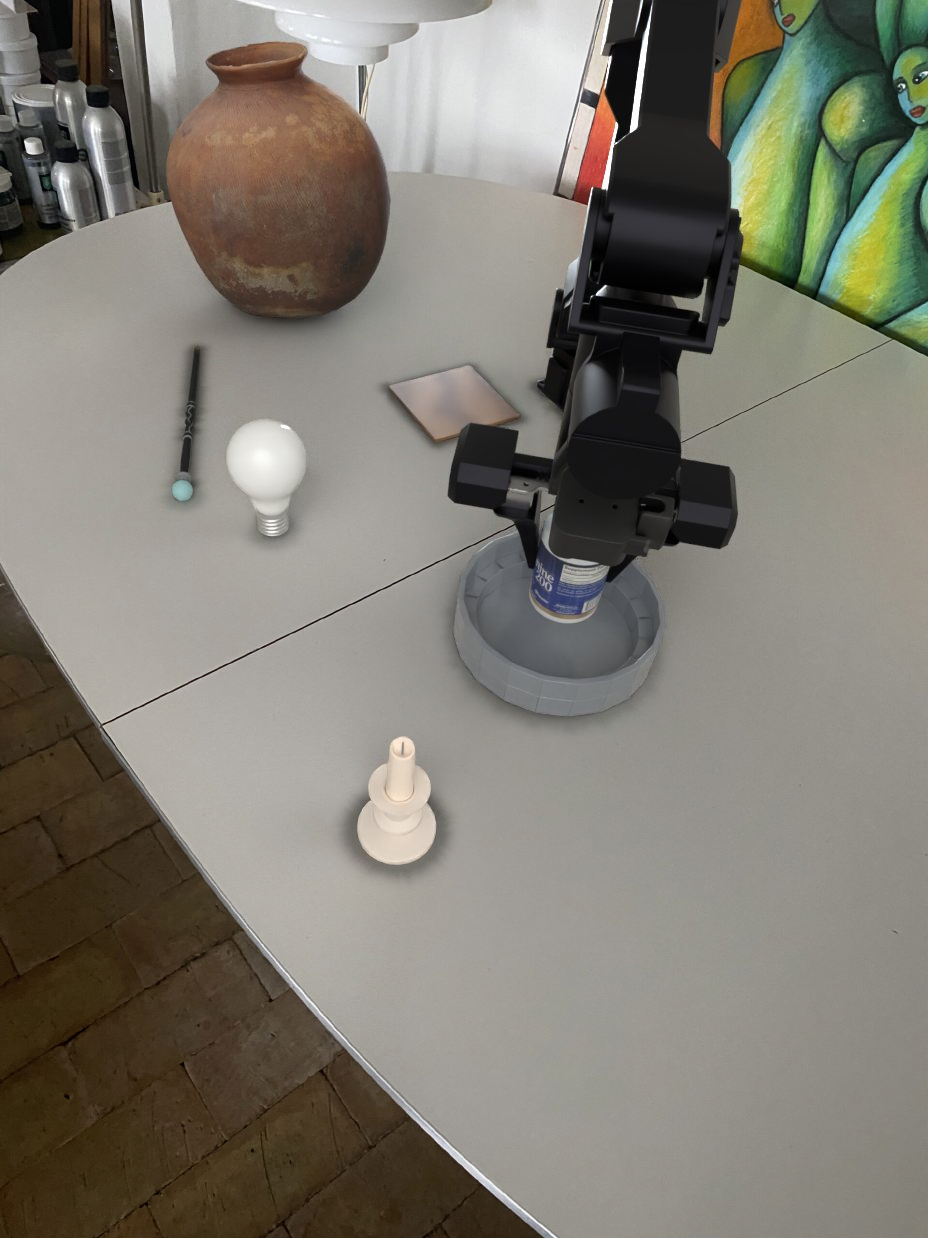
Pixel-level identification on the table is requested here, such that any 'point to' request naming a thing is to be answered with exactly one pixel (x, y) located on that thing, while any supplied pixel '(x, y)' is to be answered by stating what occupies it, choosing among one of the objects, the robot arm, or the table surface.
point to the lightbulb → (267, 469)
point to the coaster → (452, 402)
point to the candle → (398, 809)
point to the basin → (554, 636)
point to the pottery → (279, 186)
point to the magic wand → (187, 439)
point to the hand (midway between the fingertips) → (569, 571)
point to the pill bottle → (564, 583)
